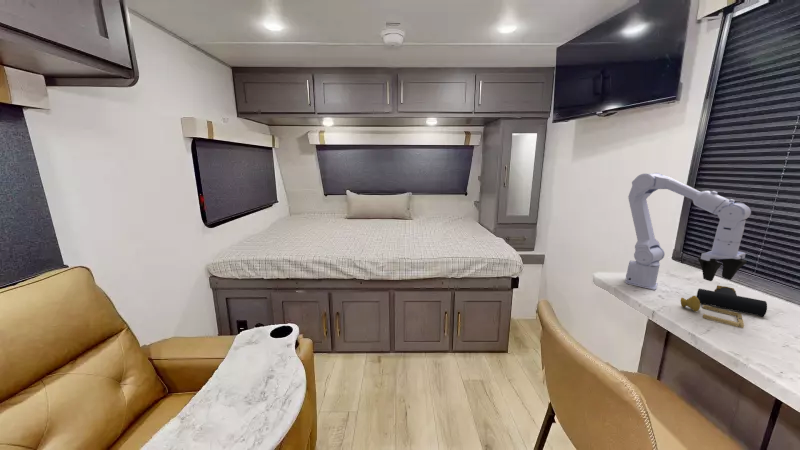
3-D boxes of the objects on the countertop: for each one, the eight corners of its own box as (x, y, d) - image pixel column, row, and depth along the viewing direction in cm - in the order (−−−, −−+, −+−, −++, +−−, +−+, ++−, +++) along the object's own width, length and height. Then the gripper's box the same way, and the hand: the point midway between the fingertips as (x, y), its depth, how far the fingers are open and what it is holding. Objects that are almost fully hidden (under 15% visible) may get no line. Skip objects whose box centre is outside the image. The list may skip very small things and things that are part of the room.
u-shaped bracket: (702, 317, 93) (703, 314, 93) (702, 307, 99) (703, 304, 99) (743, 328, 87) (744, 325, 87) (740, 316, 94) (741, 313, 93)
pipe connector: (696, 279, 109) (757, 290, 100) (693, 292, 111) (753, 304, 101) (701, 291, 101) (768, 304, 91) (697, 305, 102) (763, 319, 93)
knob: (700, 309, 98) (704, 296, 97) (696, 314, 95) (699, 300, 94) (682, 304, 102) (685, 290, 101) (677, 308, 99) (680, 294, 98)
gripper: (723, 244, 90) (712, 285, 94) (761, 242, 92) (750, 282, 96) (697, 238, 97) (688, 276, 100) (734, 236, 99) (724, 274, 102)
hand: (717, 279), depth 98 cm, fingers open, 7 cm apart
